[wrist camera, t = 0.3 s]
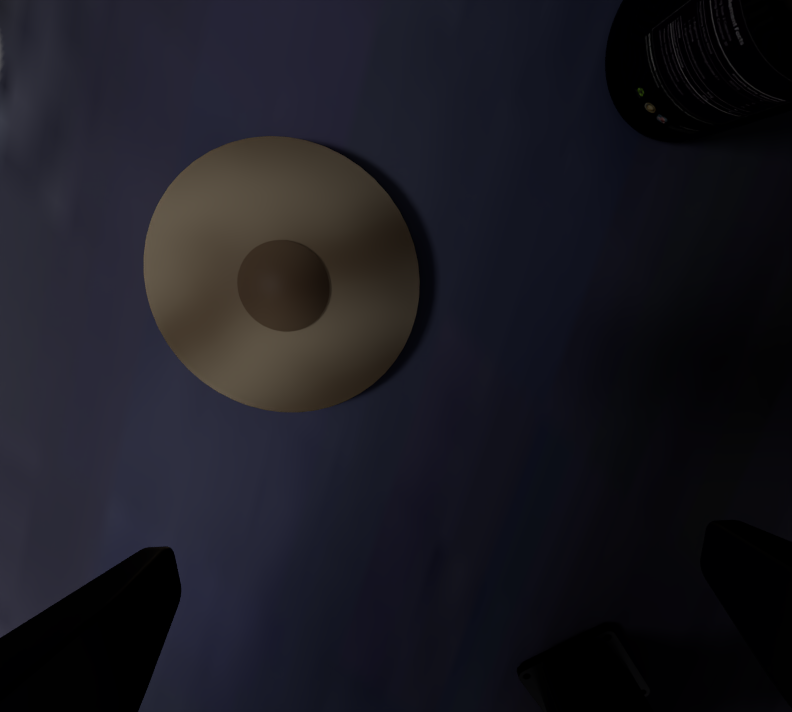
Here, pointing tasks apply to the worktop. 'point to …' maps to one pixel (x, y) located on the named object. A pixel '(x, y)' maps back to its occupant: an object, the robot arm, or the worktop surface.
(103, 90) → the worktop surface
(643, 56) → the supplement bottle
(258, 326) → the cork trivet
